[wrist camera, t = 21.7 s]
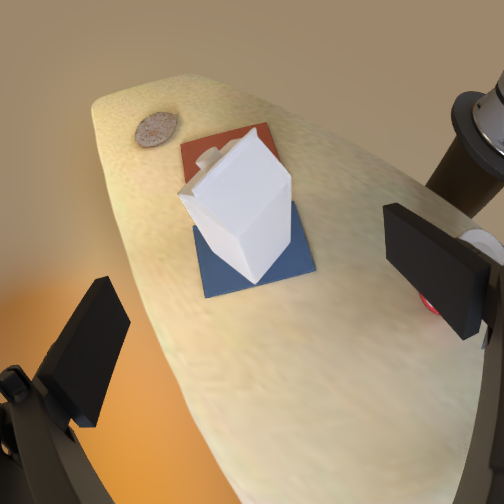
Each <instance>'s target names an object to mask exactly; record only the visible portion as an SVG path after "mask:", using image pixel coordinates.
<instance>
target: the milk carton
mask: <svg viewBox="0 0 504 504" xmlns="http://www.w3.org/2000/svg"><path fill="white" fill-rule="evenodd" d="M196 164H197V165H198V167H200V168H201V169H200V170H199V171H198V172H197V173H196V174H195V176H194V177H193V178H192V179H191V180H190V181H189V182H188V183H187V184H186V185H185V186H184V187H183V188H182V189H181V190H180V191H179V192H178V193H177V195H178V196H179V198H180V200H181V201H182V203H183V205H184V206H185V208H186V209H187V211H188V213H189V214H190V216H191V218H192V219H193V221H194V222H195V224H196V226H197V227H198V229H199V231H200V232H201V234H202V235H203V237H204V239H205V240H206V242H207V243H208V245H209V247H210V248H211V250H212V251H213V252H214V253H215V254H216V255H218V256H219V257H220V258H221V259H223V260H224V261H225V262H226V263H228V264H229V265H230V266H231V267H233V268H234V269H235V270H237V271H238V272H239V273H240V274H242V275H243V276H244V277H245V278H247V279H248V280H249V281H251V282H252V283H253V284H256V283H257V282H258V281H259V280H260V279H261V278H262V276H263V275H264V274H265V273H266V272H267V270H268V269H269V268H270V267H271V266H272V264H273V263H274V262H275V261H276V259H277V258H278V257H279V256H280V255H281V253H282V252H283V251H284V250H285V249H286V247H287V246H288V245H289V243H290V238H291V179H292V176H291V175H290V174H289V173H288V171H287V170H286V169H285V168H284V167H283V165H282V164H281V163H280V162H279V161H278V160H277V158H276V157H275V156H274V155H273V154H272V152H271V151H270V150H269V149H268V148H267V147H266V146H265V144H264V143H263V142H262V141H261V140H260V139H259V138H258V136H257V130H256V128H255V127H254V128H252V129H251V130H250V131H249V132H248V133H247V134H246V135H245V136H244V137H243V138H239V139H234V140H231V141H229V142H228V143H227V144H226V145H225V146H224V147H223V148H222V149H221V150H220V151H219V150H218V148H217V147H212V148H210V149H208V150H207V151H205V152H204V153H203V154H202V155H201V156H200V157H199V158H198V159H197V161H196Z"/></svg>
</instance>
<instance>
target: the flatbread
mask: <svg viewBox="0 0 504 504" xmlns="http://www.w3.org/2000/svg"><path fill="white" fill-rule="evenodd" d="M176 124H177V120H176V117H175V115H174V114H172V113H169V112H157V113H155V114H152V115H150V116H149V117H147V118H145V119H144V120H143V121H142V122H141V123H140V124H139V126H138V128H137V130H136V133H135V140H136V142H137V143H138V145H139V146H140V147H150V146H155V145H158V144H161V143H162V142H164V141H165V140H166V139H168V138H169V137H170V136H171V135H172V133H173V132H174V130H175V127H176Z"/></svg>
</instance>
